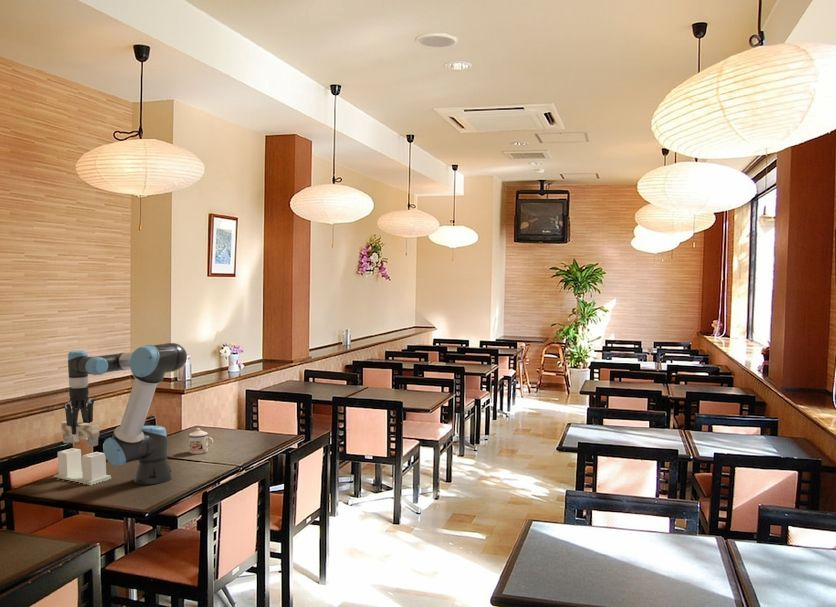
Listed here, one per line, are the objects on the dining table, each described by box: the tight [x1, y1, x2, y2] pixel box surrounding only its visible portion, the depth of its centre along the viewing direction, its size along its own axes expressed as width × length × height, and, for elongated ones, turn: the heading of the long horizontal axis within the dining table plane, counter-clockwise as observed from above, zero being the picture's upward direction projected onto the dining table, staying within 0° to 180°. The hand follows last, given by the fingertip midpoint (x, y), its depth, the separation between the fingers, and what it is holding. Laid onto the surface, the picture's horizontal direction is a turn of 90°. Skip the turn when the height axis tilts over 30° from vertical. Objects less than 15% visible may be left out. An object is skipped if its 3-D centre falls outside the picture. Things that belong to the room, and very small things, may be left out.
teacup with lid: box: [188, 427, 214, 455], centre depth 344 cm, size 12×9×12 cm
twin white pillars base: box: [53, 447, 112, 486], centre depth 301 cm, size 24×10×12 cm, turn 62°
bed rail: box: [60, 421, 100, 448], centre depth 300 cm, size 20×4×9 cm, turn 63°
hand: (80, 440), depth 301 cm, fingers closed on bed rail, 3 cm apart
